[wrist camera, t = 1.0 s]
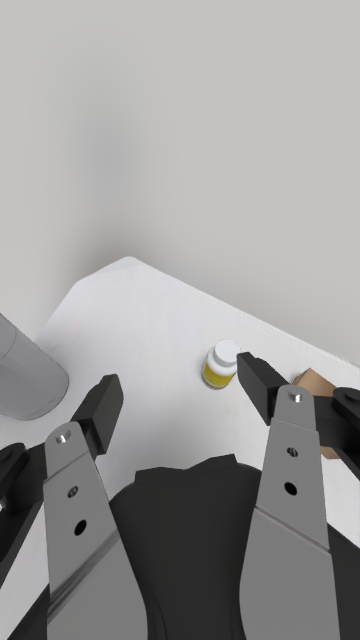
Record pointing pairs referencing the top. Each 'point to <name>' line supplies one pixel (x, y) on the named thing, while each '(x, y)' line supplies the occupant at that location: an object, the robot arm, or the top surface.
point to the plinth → (317, 388)
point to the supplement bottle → (220, 364)
